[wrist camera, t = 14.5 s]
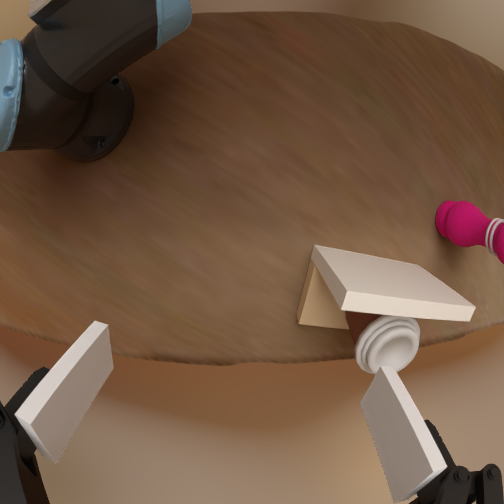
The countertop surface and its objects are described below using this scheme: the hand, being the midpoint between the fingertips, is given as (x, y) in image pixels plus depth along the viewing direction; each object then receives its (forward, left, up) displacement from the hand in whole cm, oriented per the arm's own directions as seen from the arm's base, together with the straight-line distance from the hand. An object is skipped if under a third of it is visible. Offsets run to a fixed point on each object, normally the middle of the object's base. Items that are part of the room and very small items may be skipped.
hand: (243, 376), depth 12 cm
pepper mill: (-9, +32, -29) cm, 44 cm away
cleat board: (+6, +18, -29) cm, 35 cm away
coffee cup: (+8, +18, -26) cm, 33 cm away
